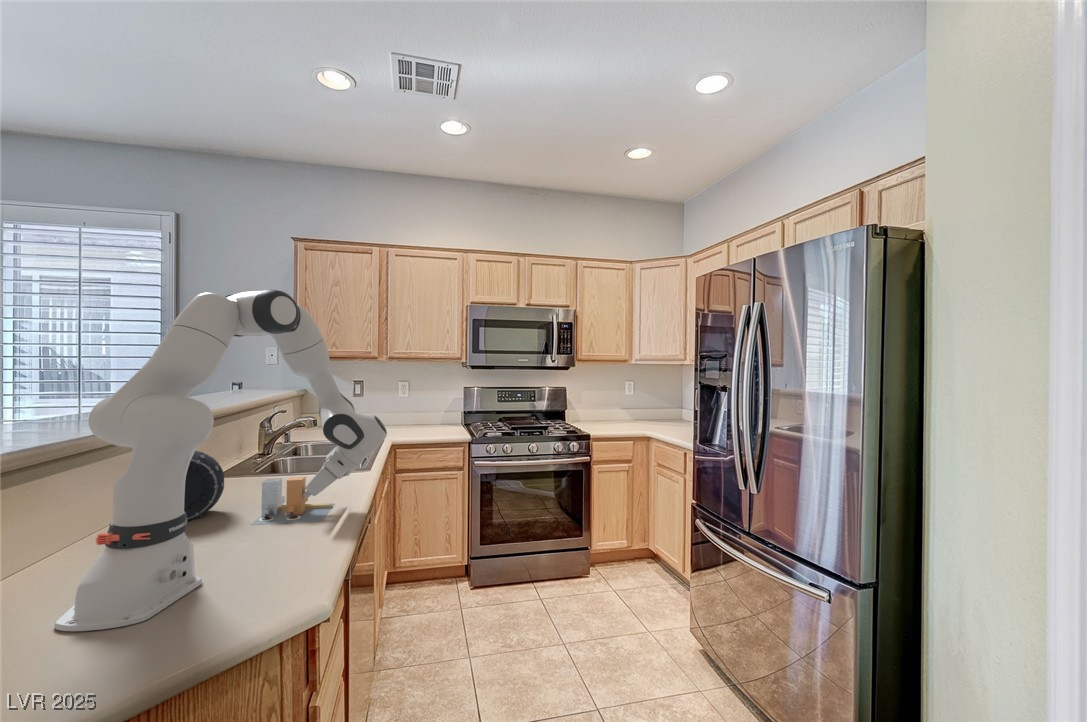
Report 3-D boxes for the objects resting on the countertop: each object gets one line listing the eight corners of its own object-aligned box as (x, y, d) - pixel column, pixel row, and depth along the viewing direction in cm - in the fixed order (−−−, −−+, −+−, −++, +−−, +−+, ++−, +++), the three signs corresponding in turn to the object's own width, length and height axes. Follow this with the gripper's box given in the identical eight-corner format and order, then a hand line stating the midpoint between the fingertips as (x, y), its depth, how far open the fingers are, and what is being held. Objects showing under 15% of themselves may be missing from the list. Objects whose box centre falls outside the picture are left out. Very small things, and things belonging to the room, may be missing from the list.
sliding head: (298, 517, 135) (299, 482, 135) (283, 518, 134) (283, 482, 134) (309, 505, 146) (310, 472, 146) (295, 505, 145) (296, 473, 145)
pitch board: (321, 525, 133) (321, 517, 133) (250, 529, 129) (250, 521, 129) (334, 507, 149) (335, 500, 149) (272, 510, 146) (272, 503, 146)
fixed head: (273, 519, 134) (274, 484, 134) (257, 520, 133) (258, 484, 133) (286, 507, 145) (287, 474, 145) (272, 507, 144) (272, 475, 144)
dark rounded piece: (221, 521, 135) (223, 451, 135) (130, 532, 125) (132, 456, 125) (225, 510, 144) (226, 445, 144) (140, 520, 134) (142, 450, 135)
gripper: (341, 448, 151) (307, 479, 149) (325, 461, 131) (286, 498, 129) (355, 461, 152) (322, 493, 150) (342, 476, 132) (304, 513, 130)
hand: (305, 495), depth 140 cm, fingers closed, pressing on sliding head
